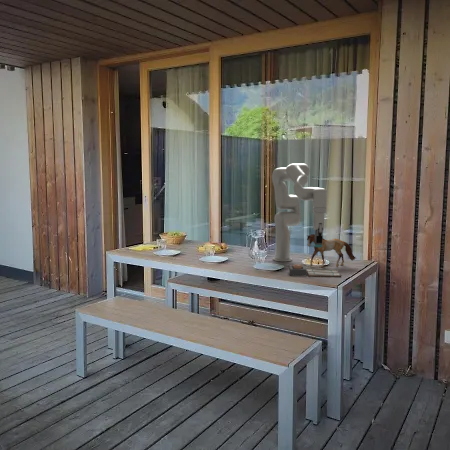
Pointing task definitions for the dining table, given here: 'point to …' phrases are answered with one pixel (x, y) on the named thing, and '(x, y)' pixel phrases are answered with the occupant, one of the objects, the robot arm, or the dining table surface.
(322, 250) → the horse figurine
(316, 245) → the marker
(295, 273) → the button base
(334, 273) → the board
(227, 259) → the dining table surface
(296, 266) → the button
